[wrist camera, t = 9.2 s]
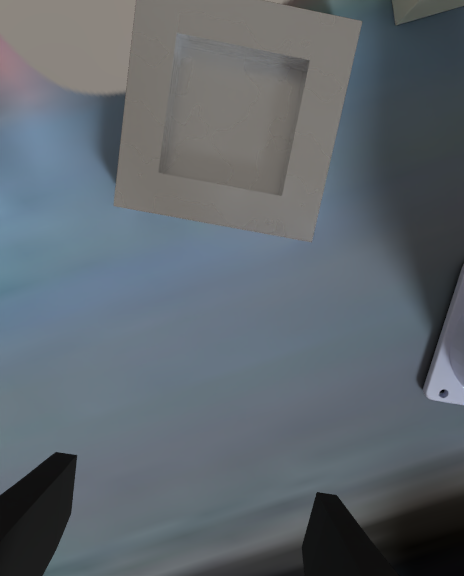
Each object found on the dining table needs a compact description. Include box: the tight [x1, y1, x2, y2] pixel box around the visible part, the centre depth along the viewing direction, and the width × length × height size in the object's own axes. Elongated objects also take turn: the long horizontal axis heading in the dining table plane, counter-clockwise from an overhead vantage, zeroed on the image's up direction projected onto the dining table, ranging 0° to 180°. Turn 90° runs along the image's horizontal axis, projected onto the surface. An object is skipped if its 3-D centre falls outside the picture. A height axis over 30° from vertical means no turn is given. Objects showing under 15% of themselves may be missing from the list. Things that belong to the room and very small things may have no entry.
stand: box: [114, 0, 362, 242], centre depth 18 cm, size 9×9×2 cm
